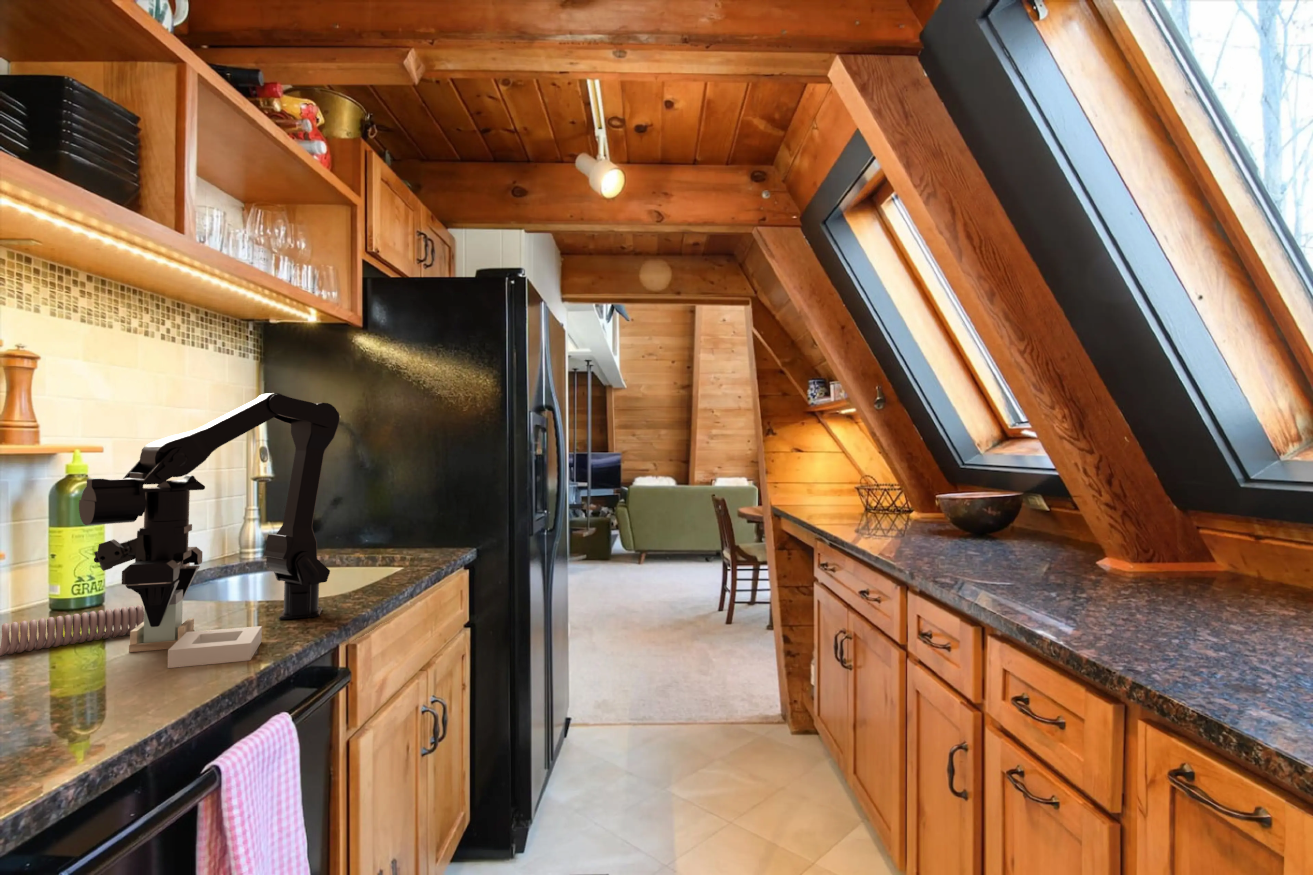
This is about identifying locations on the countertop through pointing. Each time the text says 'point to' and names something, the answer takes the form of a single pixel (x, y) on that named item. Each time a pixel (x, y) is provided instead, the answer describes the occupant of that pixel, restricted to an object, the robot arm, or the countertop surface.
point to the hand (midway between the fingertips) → (164, 619)
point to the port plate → (215, 646)
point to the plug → (166, 622)
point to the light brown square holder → (138, 644)
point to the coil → (70, 629)
